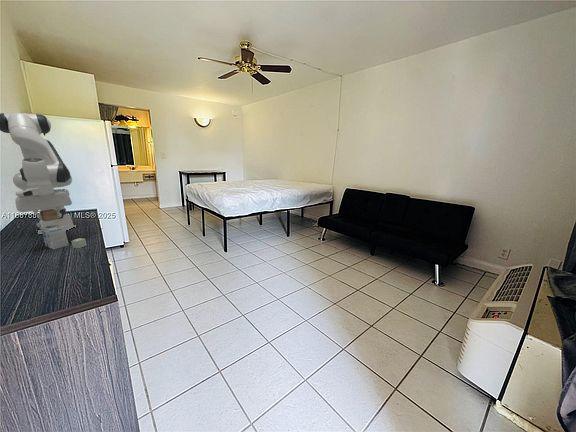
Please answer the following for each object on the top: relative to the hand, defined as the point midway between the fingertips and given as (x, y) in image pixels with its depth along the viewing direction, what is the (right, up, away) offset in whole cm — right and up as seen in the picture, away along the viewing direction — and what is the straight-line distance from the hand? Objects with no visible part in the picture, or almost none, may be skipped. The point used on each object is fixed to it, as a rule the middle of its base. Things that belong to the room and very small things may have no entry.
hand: (49, 216), depth 122 cm
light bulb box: (0, -16, +4) cm, 17 cm away
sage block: (+14, -16, +2) cm, 21 cm away
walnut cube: (0, -2, 0) cm, 2 cm away
